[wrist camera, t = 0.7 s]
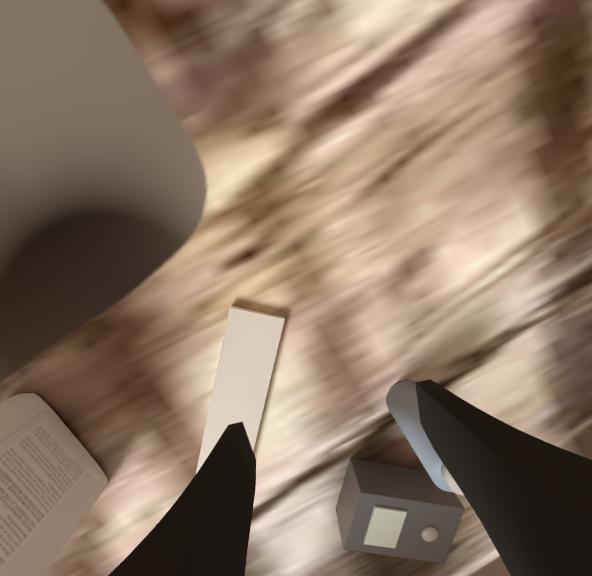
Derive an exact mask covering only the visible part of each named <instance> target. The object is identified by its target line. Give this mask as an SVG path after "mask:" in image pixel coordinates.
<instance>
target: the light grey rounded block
mask: <svg viewBox="0 0 592 576" xmlns="http://www.w3.org/2000/svg"><path fill="white" fill-rule="evenodd" d="M107 484H108V480H107V478H106V476H105V474H104V472H103V471H102V469H101V468H100V467H99V465H98V464H97V463H96V462H95V460H94V459H93V458H92V457H91V455H90V454H89V453H88V452H87V450H86V449H85V448H84V447H83V446H82V444H81V443H80V442H79V441H78V439H77V438H76V437H75V436H74V435H73V434H72V432H71V431H70V430H69V429H68V428H67V426H66V425H65V424H64V423H63V422H62V421H61V419H60V418H59V417H58V416H57V414H56V413H55V412H54V411H53V410H52V409H51V408H50V407H49V406H48V404H47V403H46V402H45V401H44V400H43V399H41V398H40V397H39V396H38V395H36V394H35V393H22V394H17V395H14V396H12V397H10V398H8V399H6V400H5V401H3V402H1V403H0V576H41V575H42V574H43V573H44V571H45V570H46V569H47V567H48V566H49V564H50V563H51V562H52V560H53V559H54V557H55V556H56V555H57V553H58V552H59V551H60V549H61V548H62V547H63V545H64V544H65V542H66V541H67V540H68V538H69V537H70V536H71V534H72V533H73V532H74V530H75V529H76V527H77V526H78V525H79V523H80V522H81V521H82V519H83V518H84V516H85V515H86V514H87V512H88V511H89V510H90V508H91V507H92V506H93V504H94V503H95V502H96V500H97V499H98V498H99V496H100V495H101V493H102V492H103V491H104V489H105V488H106V486H107Z"/></svg>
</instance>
